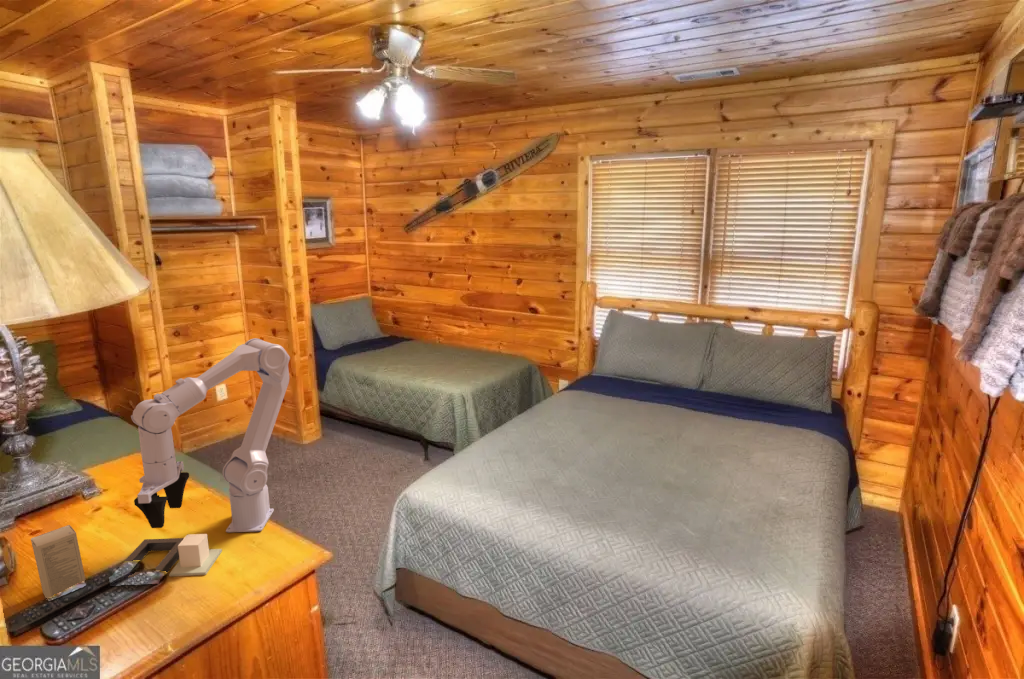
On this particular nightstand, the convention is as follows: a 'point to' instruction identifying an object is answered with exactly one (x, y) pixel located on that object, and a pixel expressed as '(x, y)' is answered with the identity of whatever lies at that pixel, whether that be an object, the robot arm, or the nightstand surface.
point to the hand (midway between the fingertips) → (167, 516)
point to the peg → (193, 550)
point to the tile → (197, 570)
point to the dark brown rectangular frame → (157, 545)
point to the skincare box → (58, 560)
